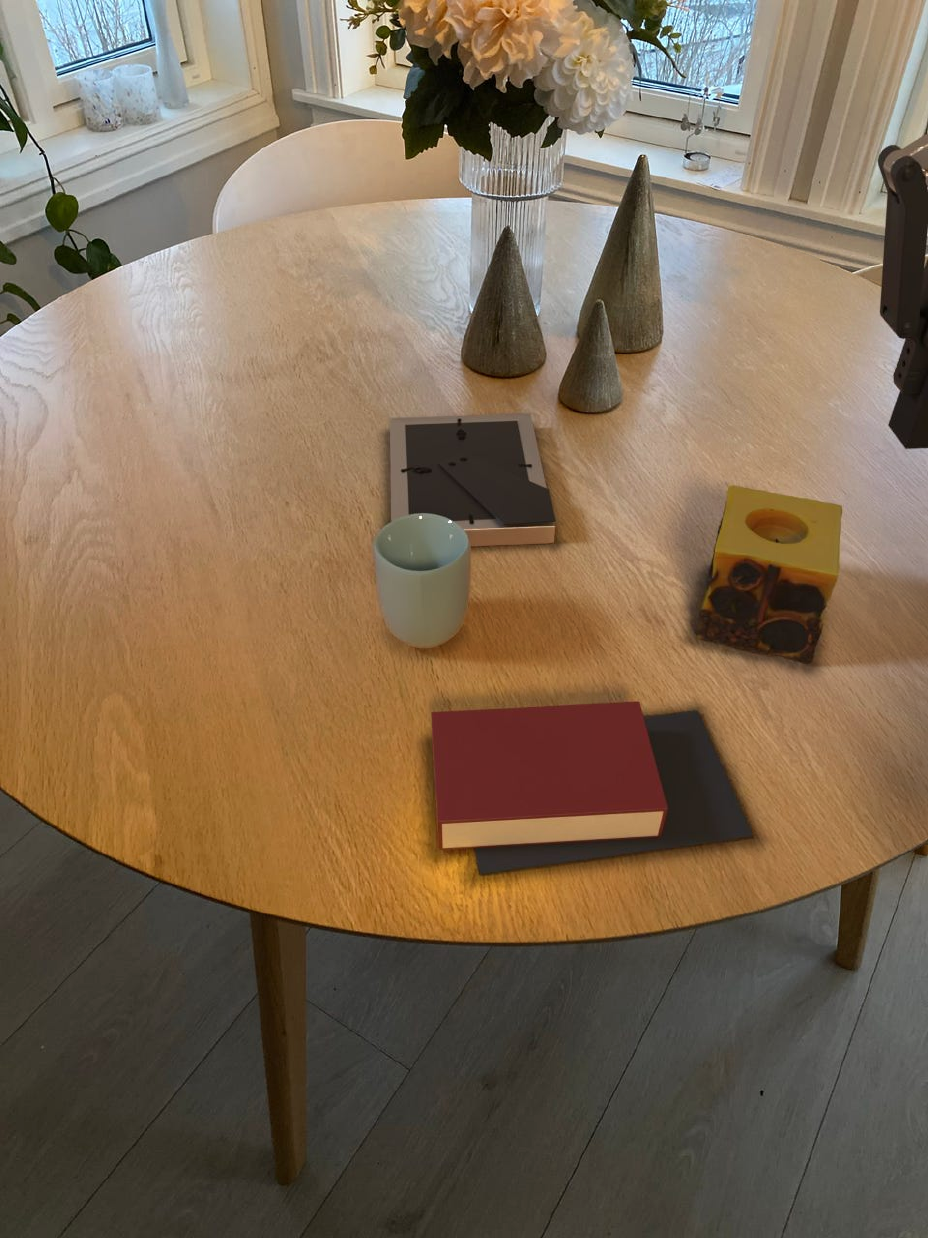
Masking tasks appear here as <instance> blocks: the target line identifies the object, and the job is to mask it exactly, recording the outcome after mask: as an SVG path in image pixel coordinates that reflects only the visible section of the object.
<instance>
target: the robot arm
mask: <svg viewBox="0 0 928 1238" xmlns="http://www.w3.org/2000/svg"><path fill="white" fill-rule="evenodd" d="M877 166H878V168H879V171H880V175H881V177H882V181H883V183H884V186H885V189H886V192H887V194H886V206H885V207H886V208H885V209H886V210H885V224H884V225H885V226H884V239H883V254H882V257H883V258H882V272H881V287H880V301H879V303H880V304H879V316H880V317H881V319H883V321H884V322H885V323H886V324H887V326H888V327H889V328H890V329H891V330H892V332H893V333H895V335H896V336H897V337H898V338H899V339H902V340H904V342H903V345H902V347H901V350H900V354H899V357H898V360H897V362H896V367H895V369H894V372H893V375H892V379H893V384H894V386H896V388H897V389H898V390H899V393H898V396H897V398H896V401H895V404H894V407H893V410H892V413H891V414H890V418H889V421H888V424H887V426H888V427H889V429H890V430H891V431H892V433H893V434H894V435H895V437H896V438H897V440H898V441H899V443H900V444H901V445H902V447H903V448H904V449H905V450H912V449H913V450H914V449H916V450H917V449H928V258H927V259H926V253H927V242H928V132H927V133H925V134H924V135H922V136H920V137H919V138H917V139H915V140H914V141H913V142H911V143H909V144H907V145H906V146H904V147H903V148H901V147H900V146H898V145H896V144H890V145H887V146H885V147H884V148H883V149H882V150H881V152H880V153H879V154H878V157H877Z"/></svg>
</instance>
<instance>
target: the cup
mask: <svg viewBox="0 0 928 1238" xmlns="http://www.w3.org/2000/svg"><path fill="white" fill-rule="evenodd" d="M372 550H373V563H374V564H373V565H374V575H375V585H376V595H377V600H378V605H379V610H380V613H381V616H382V619H383V621H384V623H385V625H386V627H387V629H388V631H389V632H390V633H391V634H392V635H393V636H394V637H395V638H396V639H397V640H398V641H400V642H402V643H403V644H404V645H407V646H410V647H412V648H416V649H432V648H436V647H439V646H442V645H444V644H445V643H447V642H448V641H450V640H451V639H452V638H454V637H455V636H456V635H457V633H458V632H459V631H460V630H461V628H462V626H463V624H464V622H465V620H466V618H467V615H468V608H469V603H470V595H471V581H472V579H471V578H472V577H471V576H472V552H471V551H472V549H471V547H470V542H469V537H468V535H467V534H466V532H465V531H464V530H463V529H462V528H461V527H460V526H459V525H458V524H457V523H455V522H454V521H452V520H450V519H448V518H445V517H443V516H440V515H435V514H428V513H418V514H411V515H406V516H403V517H401V518H398V519H396V520H394V521H392V522H391V521H390V522H389V523H387V524H386V525H384V526H383V527H382V528H381V529H379V531H378V533H377V534H376V536H375V538H374V541H373V547H372Z"/></svg>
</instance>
